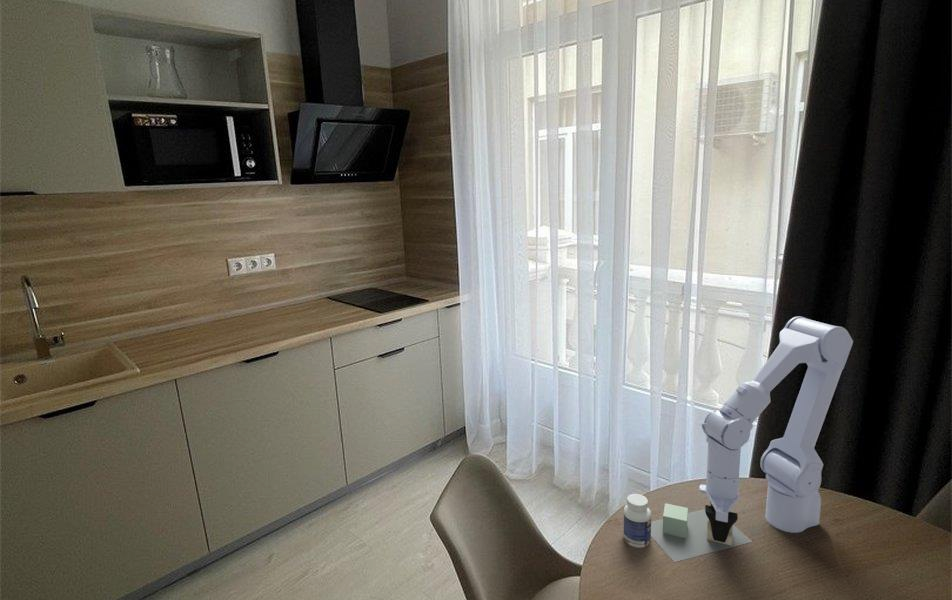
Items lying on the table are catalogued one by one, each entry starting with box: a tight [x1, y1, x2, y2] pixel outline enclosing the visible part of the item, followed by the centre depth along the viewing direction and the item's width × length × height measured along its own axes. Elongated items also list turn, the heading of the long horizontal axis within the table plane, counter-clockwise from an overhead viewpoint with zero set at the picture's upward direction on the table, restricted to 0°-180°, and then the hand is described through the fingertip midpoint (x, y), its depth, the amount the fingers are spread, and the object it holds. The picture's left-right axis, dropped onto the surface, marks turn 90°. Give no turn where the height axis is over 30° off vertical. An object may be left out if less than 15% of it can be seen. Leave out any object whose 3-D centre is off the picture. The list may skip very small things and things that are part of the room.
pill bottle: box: [622, 493, 652, 548], centre depth 99 cm, size 5×5×10 cm
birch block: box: [707, 519, 734, 545], centre depth 99 cm, size 4×4×4 cm
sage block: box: [662, 503, 689, 538], centre depth 101 cm, size 4×4×4 cm
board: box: [651, 508, 754, 563], centre depth 100 cm, size 18×12×1 cm, turn 104°
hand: (719, 531), depth 99 cm, fingers open, 5 cm apart
